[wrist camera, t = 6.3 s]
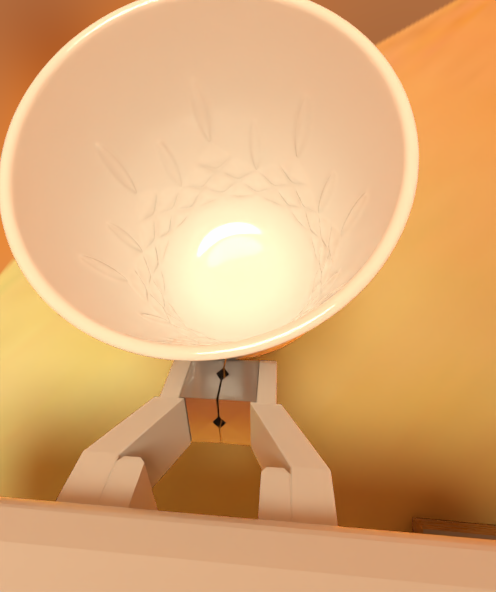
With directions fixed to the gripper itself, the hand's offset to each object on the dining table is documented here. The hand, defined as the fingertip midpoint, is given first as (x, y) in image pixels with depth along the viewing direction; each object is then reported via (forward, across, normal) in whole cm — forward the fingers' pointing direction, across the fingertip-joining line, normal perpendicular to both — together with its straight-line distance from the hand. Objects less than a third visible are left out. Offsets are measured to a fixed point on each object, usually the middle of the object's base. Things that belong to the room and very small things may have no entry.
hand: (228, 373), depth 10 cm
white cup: (+6, 0, +1) cm, 7 cm away
